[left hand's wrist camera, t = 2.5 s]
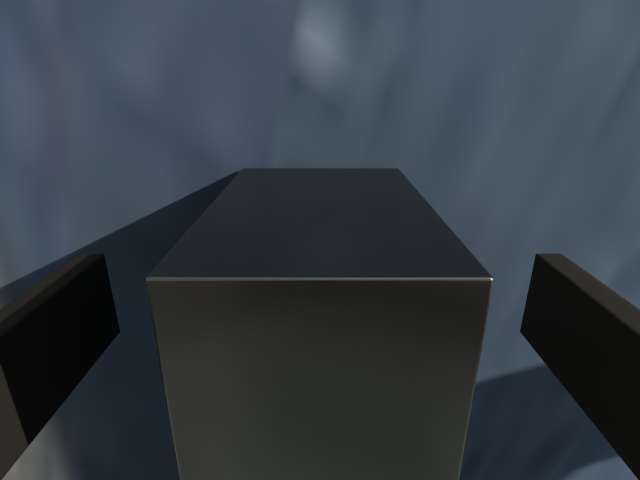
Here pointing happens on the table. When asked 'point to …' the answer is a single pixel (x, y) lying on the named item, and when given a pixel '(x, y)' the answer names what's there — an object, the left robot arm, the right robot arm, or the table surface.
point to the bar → (319, 331)
